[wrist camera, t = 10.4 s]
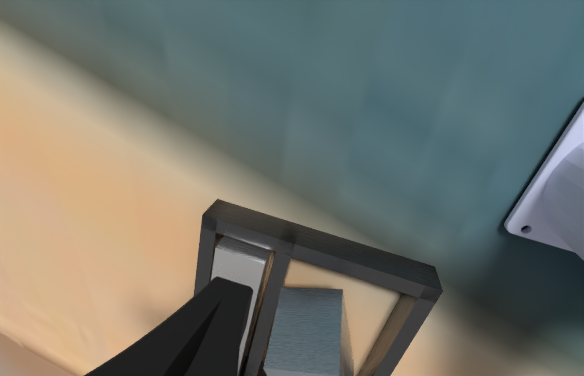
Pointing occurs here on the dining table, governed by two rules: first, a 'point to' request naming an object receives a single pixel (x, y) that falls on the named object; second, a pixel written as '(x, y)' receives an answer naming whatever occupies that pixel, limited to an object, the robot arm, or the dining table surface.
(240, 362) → the frame
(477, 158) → the dining table surface
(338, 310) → the brushed metal pillar
